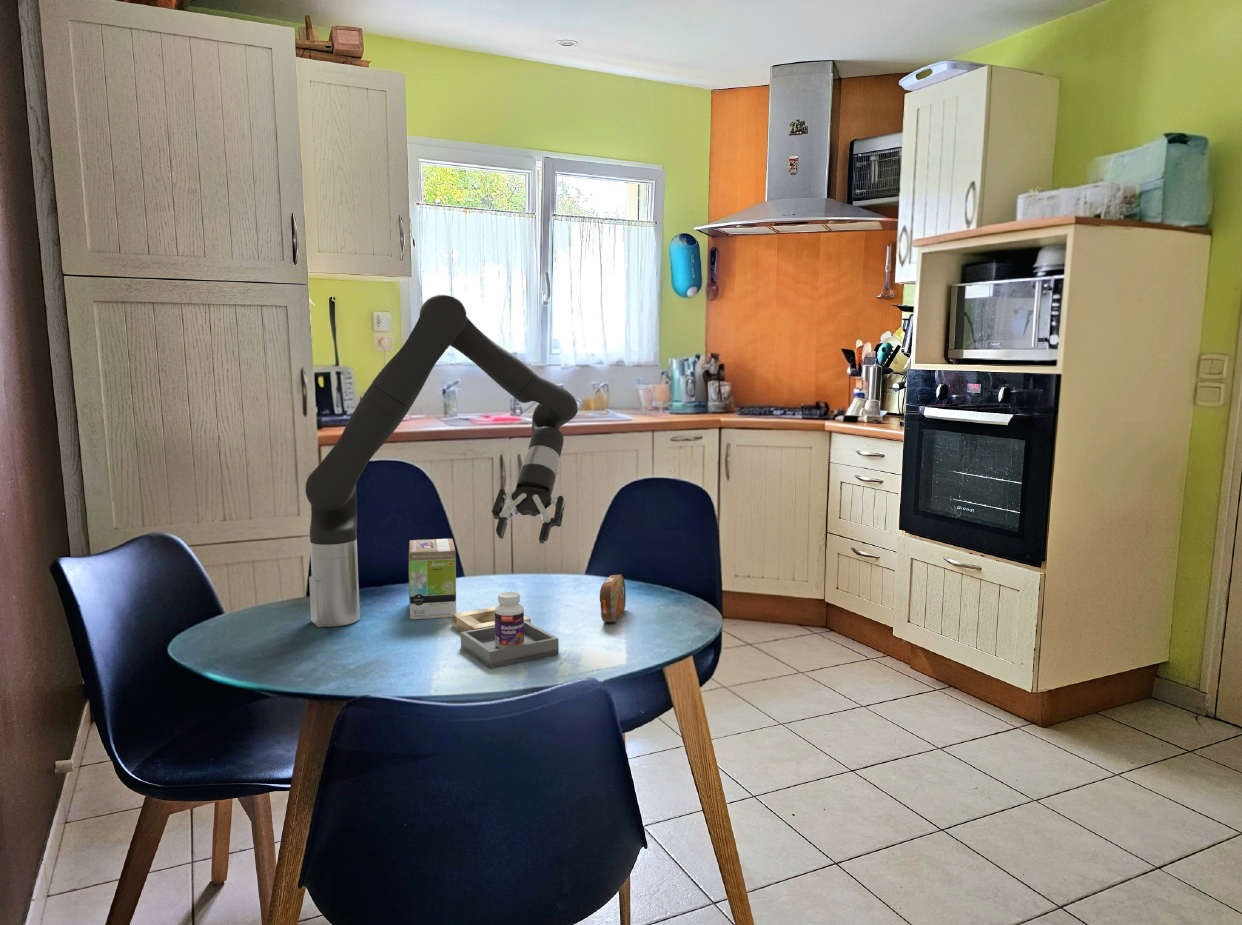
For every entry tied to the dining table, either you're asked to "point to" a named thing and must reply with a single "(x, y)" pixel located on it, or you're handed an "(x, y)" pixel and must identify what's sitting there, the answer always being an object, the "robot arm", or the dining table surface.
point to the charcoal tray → (490, 655)
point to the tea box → (432, 578)
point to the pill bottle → (509, 620)
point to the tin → (612, 598)
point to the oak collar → (476, 619)
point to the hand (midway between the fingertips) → (520, 539)
